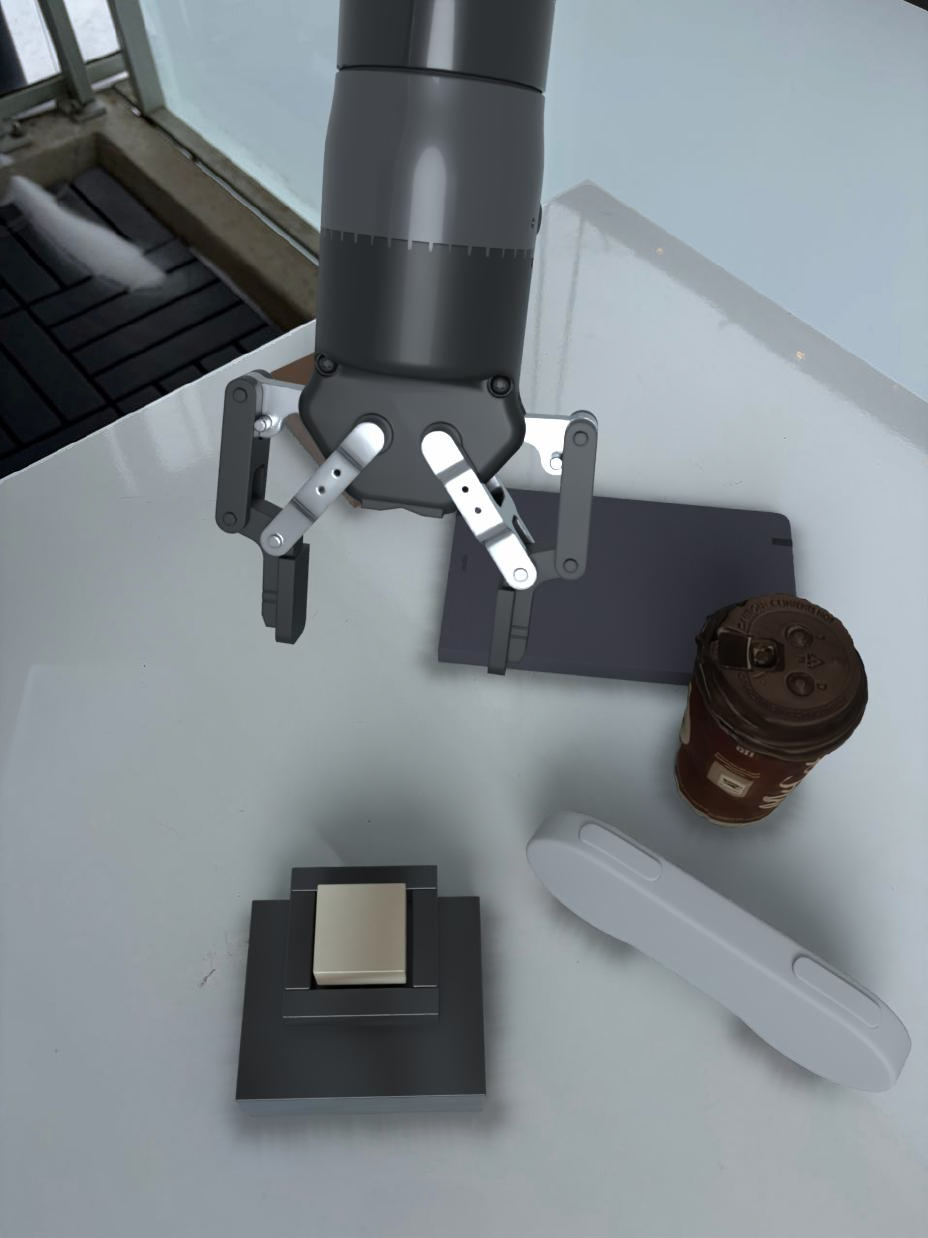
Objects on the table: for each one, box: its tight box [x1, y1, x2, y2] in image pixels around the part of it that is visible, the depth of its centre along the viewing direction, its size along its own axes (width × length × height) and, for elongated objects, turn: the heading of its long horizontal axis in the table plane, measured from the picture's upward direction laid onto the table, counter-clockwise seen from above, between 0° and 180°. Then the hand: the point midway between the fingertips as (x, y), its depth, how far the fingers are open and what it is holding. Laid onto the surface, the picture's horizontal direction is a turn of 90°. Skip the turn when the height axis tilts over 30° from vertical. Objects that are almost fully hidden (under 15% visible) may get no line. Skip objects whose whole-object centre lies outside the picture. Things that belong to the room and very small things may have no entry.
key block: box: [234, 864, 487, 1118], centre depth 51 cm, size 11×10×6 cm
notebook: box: [437, 487, 797, 687], centre depth 67 cm, size 13×2×21 cm
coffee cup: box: [673, 593, 869, 828], centre depth 55 cm, size 9×8×13 cm
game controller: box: [525, 809, 912, 1093], centre depth 51 cm, size 20×2×8 cm, turn 55°
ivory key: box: [313, 883, 407, 985], centre depth 49 cm, size 4×4×2 cm
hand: (393, 652), depth 44 cm, fingers open, 8 cm apart
